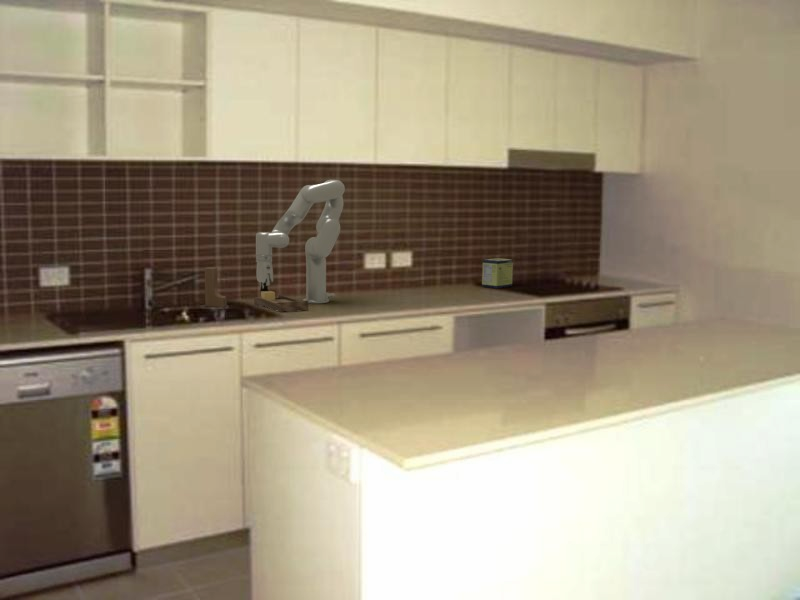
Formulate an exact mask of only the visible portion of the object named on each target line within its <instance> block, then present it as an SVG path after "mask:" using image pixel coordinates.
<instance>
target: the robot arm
mask: <svg viewBox="0 0 800 600" xmlns="http://www.w3.org/2000/svg"><path fill="white" fill-rule="evenodd" d="M345 188H346V187H345V185H344V183H343V182H342V181H341V180H338V179H327V180H325V181H324V182H323V183H319V184H307V185H304V186H303V187H302V188H301V189H300V191H299V192H298V194H297V195H296V197H295V198H294V200H293V201H292V204H290V206H289V207H288V209H287V211H286V212H285V213H284V214H283V215H282V216H281V218H280V219H278V221H277V223H276V224H275V225H274V227H273V229H272V231H271V232H269V231H267V232H265V231H261V232H260V231H259V232H257V233H256V234H255V262H256V270H255V271H256V273H255V274H256V280H257V282H258V284H259V287H260V292H261V291H269V286H270V285H271V283H273V282H274V269H273V263H272V262H273V248H280V249H282V248H286V247H288V245H289V243H290V237H289V233H290V232H291V230H292V229H294V227H296V226H297V225H298V224H300V223H301V222H302V221H304V219H305V218H306V216H307V214H308V213H309V211H310V210H311V209H312V206H313V205H314V204H317V203H324V202H325V205H324V208H323V209H322V212H321V214H320V217H319V218H318V221H316V222H317V223H316V225H315V227H316V228H315V229H316V231H317V234H316V236H312V237H310V238H308V239H307V241H306V243H305V246H304V250H305V251H304V253H305V264H306V266H305V268H306V270H305V272H306V276H305V281H306V282H305V285H306V286H305V291H306V292H305V294H306V295H305V297H306V298H303V299H302V301H308V304H325V303H329V302H330V299H329V298H335V297H336V294H335V293H333V292H332V293H329V292H327V260H326V258H327V257H328V256H329V255H330V254H331V252H332V250H333V248H334V246H335V245H336V242H337V240H338V238H339V235H340V232H341V225H340V222H339V219H340V217H341V214H342V211H343V209H344V197H343V194H344V193H345V190H346V189H345Z"/></svg>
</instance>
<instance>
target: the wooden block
mask: <svg viewBox="0 0 800 600" xmlns="http://www.w3.org/2000/svg"><path fill="white" fill-rule="evenodd" d="M204 295H205V296H204V301H205V303H204V306H205V307H208V308H209V307H210V308H225V307H227V304H228V303H227V302H228V301H227V296H225V295H222V294H220V293H219V290H218V268H217V267H214V266H213V267H211V266H210V267H205V268H204Z"/></svg>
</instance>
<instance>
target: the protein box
mask: <svg viewBox="0 0 800 600" xmlns="http://www.w3.org/2000/svg"><path fill="white" fill-rule="evenodd" d="M513 269H514V259H510V258H499V257H497V258H489V259H482V275H481V276H482V277H481V287H482V288H487V289H489V288H491V289H504V288H509V286H511V287H513V275H514V273H513V271H514V270H513ZM503 287H504V288H503Z"/></svg>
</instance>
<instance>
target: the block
mask: <svg viewBox="0 0 800 600" xmlns="http://www.w3.org/2000/svg"><path fill="white" fill-rule="evenodd" d="M275 297H276V292H275V291H272V290H268V291H261V290H260V298H261V299H264V300H267V301H275Z"/></svg>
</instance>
